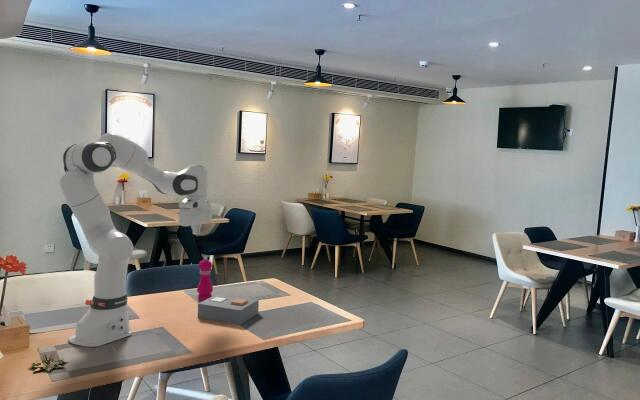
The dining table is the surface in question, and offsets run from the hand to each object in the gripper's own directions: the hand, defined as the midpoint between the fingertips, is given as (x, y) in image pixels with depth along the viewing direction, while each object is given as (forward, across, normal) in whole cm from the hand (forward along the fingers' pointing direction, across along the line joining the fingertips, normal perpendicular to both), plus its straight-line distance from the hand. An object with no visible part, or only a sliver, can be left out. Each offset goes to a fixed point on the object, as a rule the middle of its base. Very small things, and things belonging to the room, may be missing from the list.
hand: (196, 234), depth 222 cm
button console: (+33, +2, +18) cm, 38 cm away
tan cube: (+31, +2, +23) cm, 39 cm away
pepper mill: (+33, -14, -4) cm, 36 cm away
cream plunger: (+32, +2, +13) cm, 34 cm away
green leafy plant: (+34, +70, -8) cm, 78 cm away
